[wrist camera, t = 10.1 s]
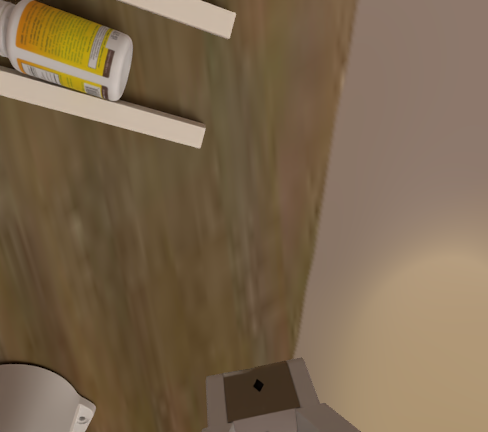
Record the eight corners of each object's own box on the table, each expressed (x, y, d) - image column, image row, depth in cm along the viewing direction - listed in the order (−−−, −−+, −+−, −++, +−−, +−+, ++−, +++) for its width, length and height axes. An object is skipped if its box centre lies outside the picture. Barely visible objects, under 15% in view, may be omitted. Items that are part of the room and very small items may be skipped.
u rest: (199, 143, 37) (200, 150, 34) (-47, 76, 32) (-69, 79, 29) (233, 15, 33) (237, 12, 30) (-47, -88, 27) (-73, -103, 24)
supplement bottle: (137, 24, 31) (3, -27, 28) (122, 58, 27) (-34, 3, 24) (129, 81, 35) (11, 40, 32) (114, 116, 31) (-19, 75, 28)
